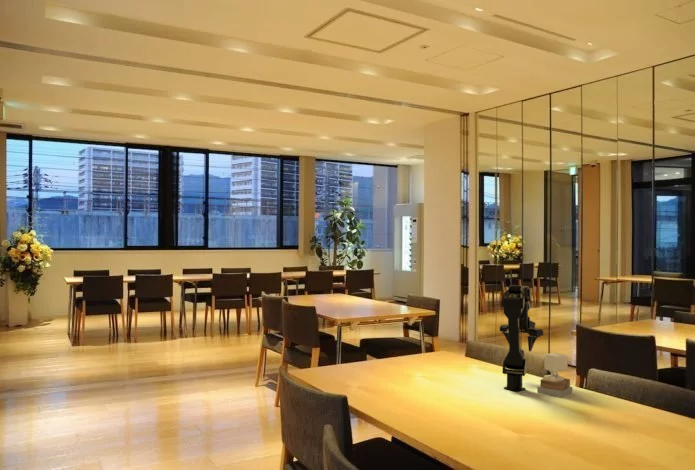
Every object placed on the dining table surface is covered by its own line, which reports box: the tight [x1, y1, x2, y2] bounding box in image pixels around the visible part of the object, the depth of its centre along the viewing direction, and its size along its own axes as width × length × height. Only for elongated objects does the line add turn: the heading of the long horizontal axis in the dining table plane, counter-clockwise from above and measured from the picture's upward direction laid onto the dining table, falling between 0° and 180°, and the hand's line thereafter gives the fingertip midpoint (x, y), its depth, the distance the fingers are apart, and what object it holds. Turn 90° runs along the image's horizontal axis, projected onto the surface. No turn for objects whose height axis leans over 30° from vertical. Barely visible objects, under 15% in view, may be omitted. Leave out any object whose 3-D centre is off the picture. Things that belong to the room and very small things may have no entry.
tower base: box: [536, 385, 574, 398], centre depth 230 cm, size 10×10×3 cm
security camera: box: [543, 352, 569, 382], centre depth 230 cm, size 6×7×10 cm
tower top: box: [540, 377, 571, 391], centre depth 230 cm, size 9×9×3 cm
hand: (520, 349), depth 252 cm, fingers open, 9 cm apart
